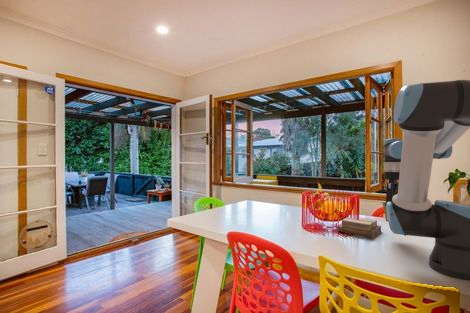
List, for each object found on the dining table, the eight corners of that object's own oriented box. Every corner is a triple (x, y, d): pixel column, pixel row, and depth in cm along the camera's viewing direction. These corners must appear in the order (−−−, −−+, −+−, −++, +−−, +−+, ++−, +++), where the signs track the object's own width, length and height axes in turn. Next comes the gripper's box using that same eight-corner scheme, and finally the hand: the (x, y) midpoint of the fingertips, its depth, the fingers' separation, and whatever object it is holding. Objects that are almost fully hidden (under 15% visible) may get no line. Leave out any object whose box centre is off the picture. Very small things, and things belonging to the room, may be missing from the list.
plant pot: (404, 221, 122) (404, 203, 122) (406, 225, 114) (405, 206, 114) (382, 218, 127) (382, 201, 127) (381, 222, 119) (381, 204, 119)
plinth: (371, 238, 121) (371, 226, 121) (337, 231, 132) (337, 220, 132) (381, 231, 133) (381, 220, 133) (349, 225, 144) (349, 215, 144)
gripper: (396, 172, 110) (396, 224, 110) (407, 171, 126) (407, 216, 126) (377, 171, 116) (377, 221, 115) (390, 170, 131) (390, 214, 131)
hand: (393, 218), depth 120 cm, fingers closed on plant pot, 9 cm apart
